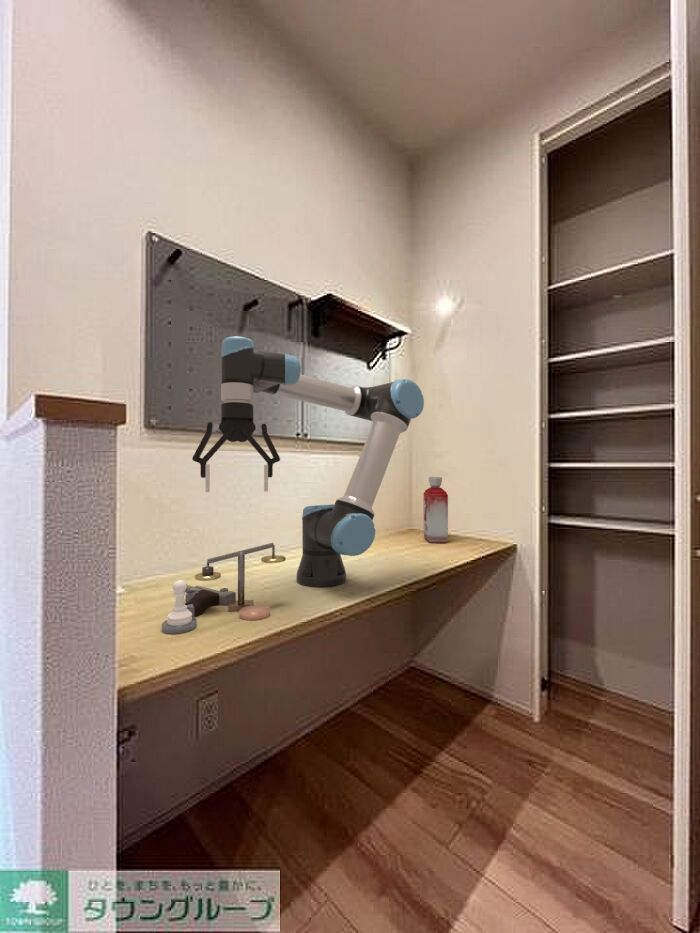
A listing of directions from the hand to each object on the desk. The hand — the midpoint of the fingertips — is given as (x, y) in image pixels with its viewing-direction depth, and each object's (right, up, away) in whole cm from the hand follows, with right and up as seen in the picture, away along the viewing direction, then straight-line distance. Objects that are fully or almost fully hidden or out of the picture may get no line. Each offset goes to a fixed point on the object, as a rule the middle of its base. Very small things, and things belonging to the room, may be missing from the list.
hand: (237, 491), depth 103 cm
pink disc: (+5, -29, -3) cm, 29 cm away
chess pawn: (-10, -28, -11) cm, 31 cm away
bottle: (+67, -29, +98) cm, 122 cm away
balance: (0, -29, +2) cm, 29 cm away
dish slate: (-10, -29, -11) cm, 32 cm away
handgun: (-15, -29, +7) cm, 34 cm away
